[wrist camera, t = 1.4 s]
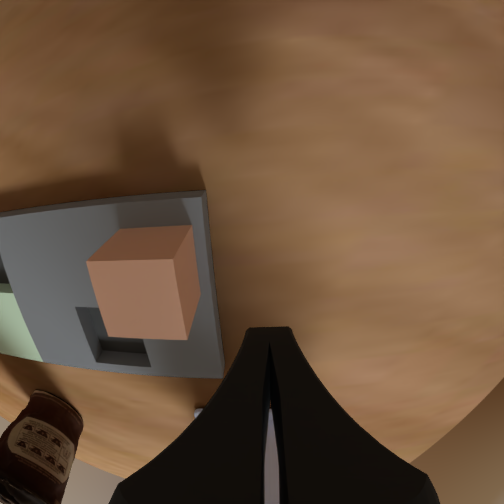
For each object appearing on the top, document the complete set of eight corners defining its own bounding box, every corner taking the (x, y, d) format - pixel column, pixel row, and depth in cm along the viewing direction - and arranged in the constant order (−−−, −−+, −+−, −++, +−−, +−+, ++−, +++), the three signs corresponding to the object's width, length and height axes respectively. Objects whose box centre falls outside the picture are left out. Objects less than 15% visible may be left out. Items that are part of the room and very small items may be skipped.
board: (224, 363, 22) (220, 398, 19) (-2, 341, 23) (-20, 362, 20) (206, 190, 17) (194, 207, 14) (-46, 220, 18) (-72, 235, 15)
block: (200, 294, 18) (187, 340, 14) (133, 294, 18) (108, 336, 14) (192, 225, 16) (172, 259, 12) (119, 228, 16) (85, 261, 13)
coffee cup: (35, 368, 23) (-28, 473, 12) (106, 419, 26) (65, 532, 14) (18, 398, 26) (-30, 483, 14) (77, 441, 28) (42, 530, 16)
